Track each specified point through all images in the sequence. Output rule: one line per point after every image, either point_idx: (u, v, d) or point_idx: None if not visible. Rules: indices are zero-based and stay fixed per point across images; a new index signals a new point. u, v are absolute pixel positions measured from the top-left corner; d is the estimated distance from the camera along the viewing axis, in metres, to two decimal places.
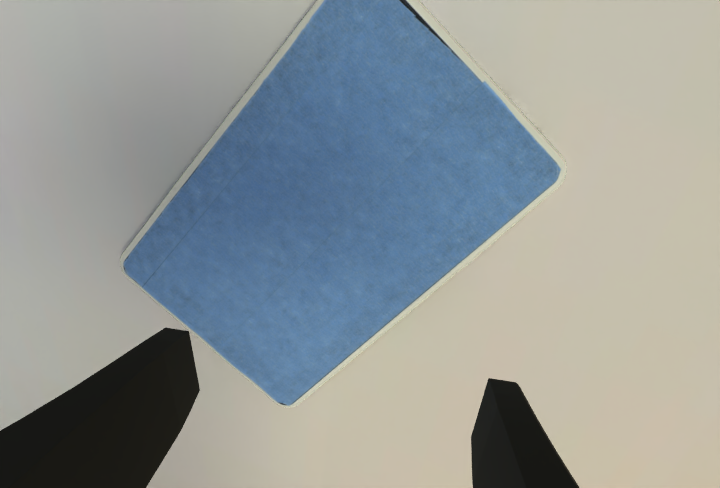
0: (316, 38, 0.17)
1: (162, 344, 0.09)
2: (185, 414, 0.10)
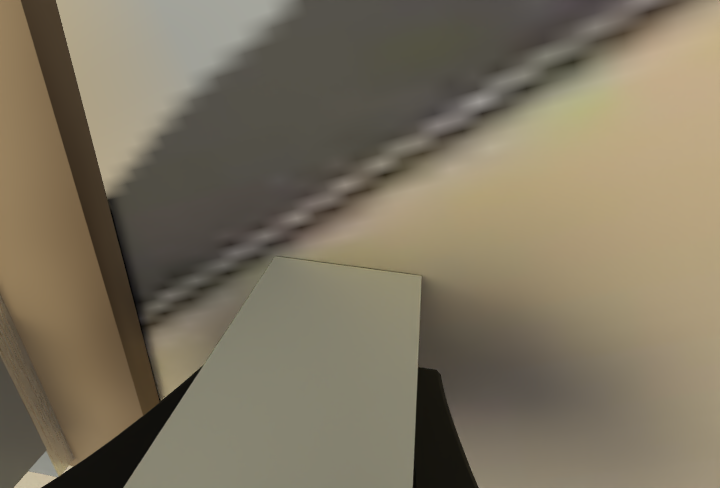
0: None
1: None
2: None
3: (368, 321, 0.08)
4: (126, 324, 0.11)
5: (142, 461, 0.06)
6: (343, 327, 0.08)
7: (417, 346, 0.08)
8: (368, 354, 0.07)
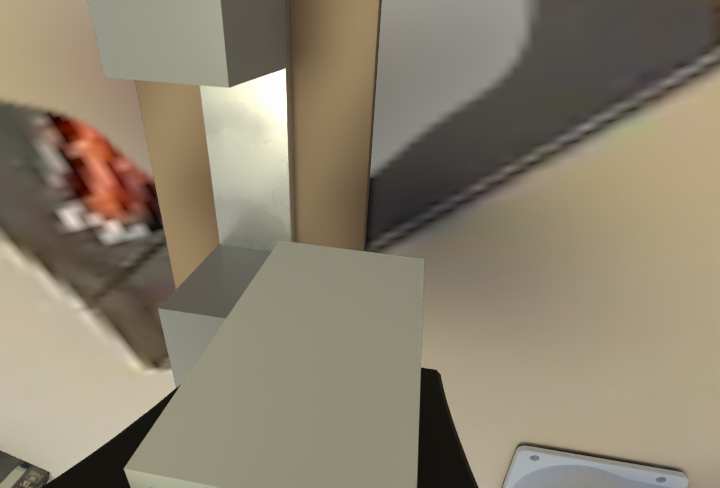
0: None
1: None
2: None
3: (372, 301, 0.08)
4: None
5: (153, 428, 0.06)
6: (347, 306, 0.08)
7: (421, 324, 0.08)
8: (373, 330, 0.08)
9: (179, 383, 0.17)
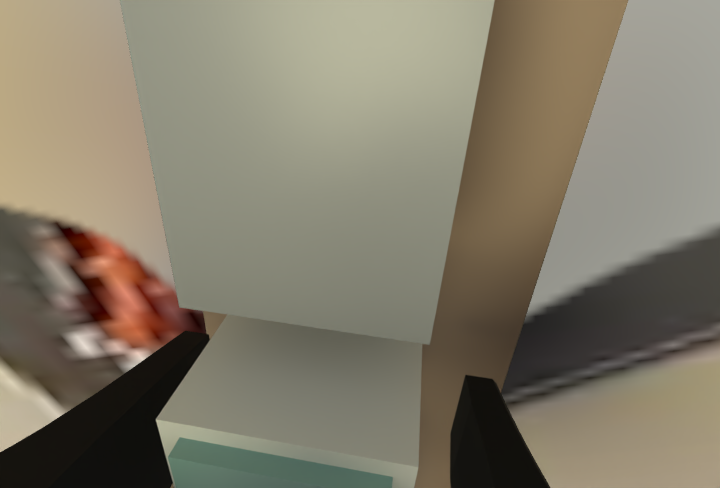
0: None
1: (184, 348, 0.09)
2: None
3: None
4: None
5: (179, 386, 0.06)
6: None
7: None
8: None
9: None
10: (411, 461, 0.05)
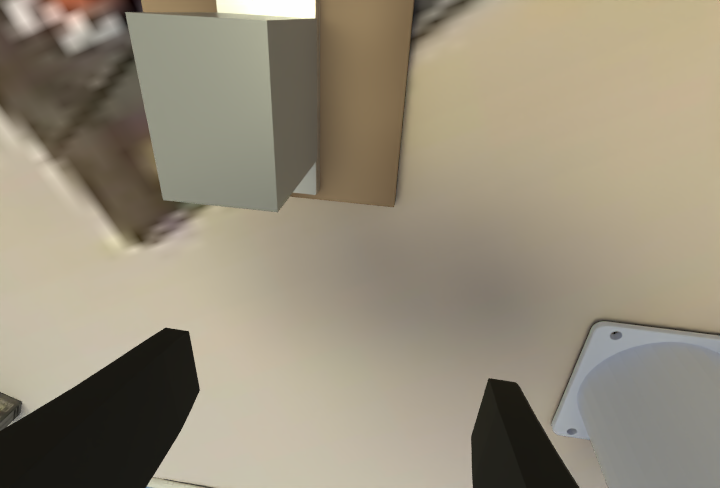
0: None
1: (162, 344, 0.09)
2: (184, 414, 0.10)
3: None
4: (411, 24, 0.15)
5: None
6: None
7: None
8: None
9: (162, 164, 0.12)
10: None
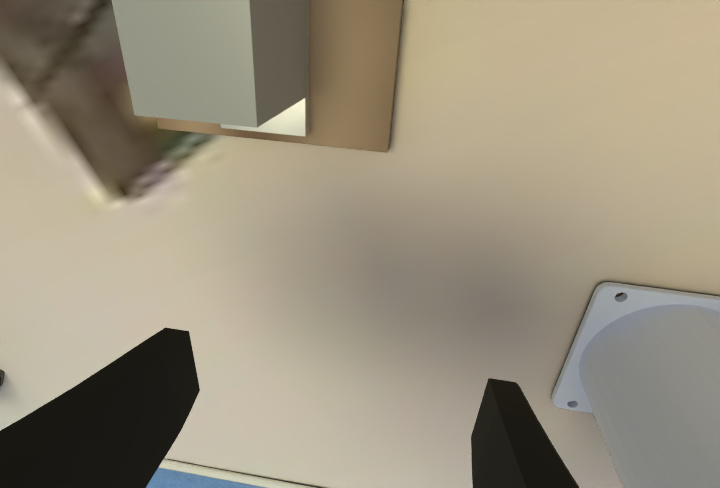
0: None
1: (162, 344, 0.09)
2: (184, 414, 0.10)
3: None
4: None
5: None
6: None
7: None
8: None
9: (133, 72, 0.11)
10: None
